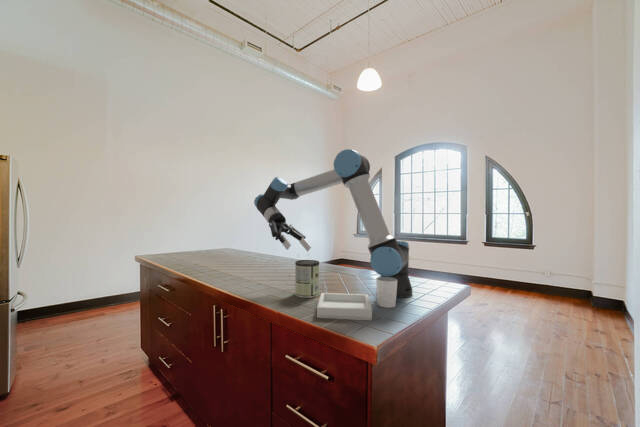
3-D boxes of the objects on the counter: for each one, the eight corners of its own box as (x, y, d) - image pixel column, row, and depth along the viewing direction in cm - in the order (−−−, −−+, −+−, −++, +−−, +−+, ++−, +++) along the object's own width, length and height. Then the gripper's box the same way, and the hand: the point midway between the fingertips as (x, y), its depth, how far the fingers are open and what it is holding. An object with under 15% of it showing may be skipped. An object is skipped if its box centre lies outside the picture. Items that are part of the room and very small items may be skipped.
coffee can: (297, 291, 129) (297, 259, 129) (320, 291, 127) (320, 260, 128) (292, 297, 118) (293, 263, 118) (317, 298, 117) (318, 264, 117)
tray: (367, 303, 112) (367, 294, 112) (371, 320, 94) (372, 309, 94) (321, 301, 113) (321, 292, 113) (316, 317, 95) (317, 307, 95)
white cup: (397, 303, 112) (398, 277, 113) (396, 309, 105) (396, 282, 105) (377, 301, 115) (377, 276, 115) (374, 307, 108) (374, 280, 108)
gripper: (288, 227, 147) (312, 255, 135) (250, 220, 127) (274, 253, 115) (296, 216, 145) (321, 243, 133) (259, 207, 125) (284, 238, 113)
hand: (299, 248), depth 124 cm, fingers open, 13 cm apart
